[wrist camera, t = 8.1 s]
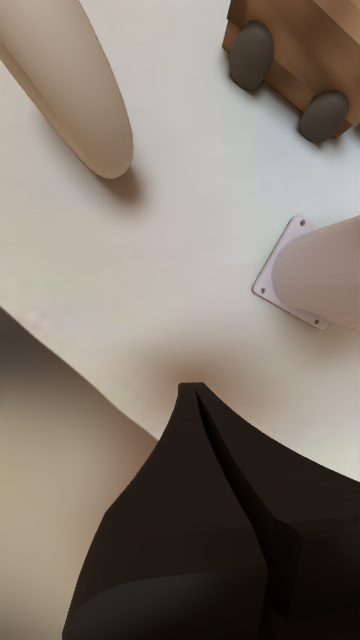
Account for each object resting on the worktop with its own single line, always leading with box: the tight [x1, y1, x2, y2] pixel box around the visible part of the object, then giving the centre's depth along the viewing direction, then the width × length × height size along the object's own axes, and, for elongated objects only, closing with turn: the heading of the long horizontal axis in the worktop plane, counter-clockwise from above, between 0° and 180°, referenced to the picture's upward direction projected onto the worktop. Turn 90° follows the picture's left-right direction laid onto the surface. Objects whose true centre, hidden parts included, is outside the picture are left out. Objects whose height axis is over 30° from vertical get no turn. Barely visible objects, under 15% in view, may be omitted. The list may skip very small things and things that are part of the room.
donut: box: [0, 0, 133, 179], centre depth 10 cm, size 10×3×10 cm, turn 41°
